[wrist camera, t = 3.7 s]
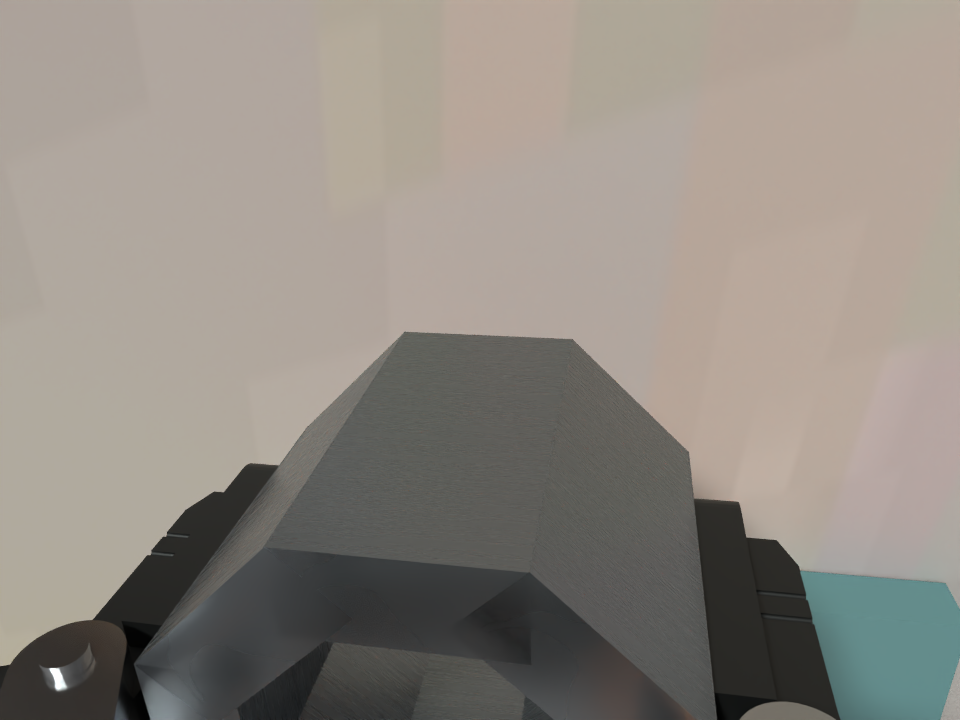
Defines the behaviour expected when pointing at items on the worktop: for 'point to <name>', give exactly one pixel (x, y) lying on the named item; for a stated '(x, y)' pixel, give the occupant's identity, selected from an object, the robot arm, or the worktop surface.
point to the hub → (455, 556)
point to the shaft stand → (885, 644)
